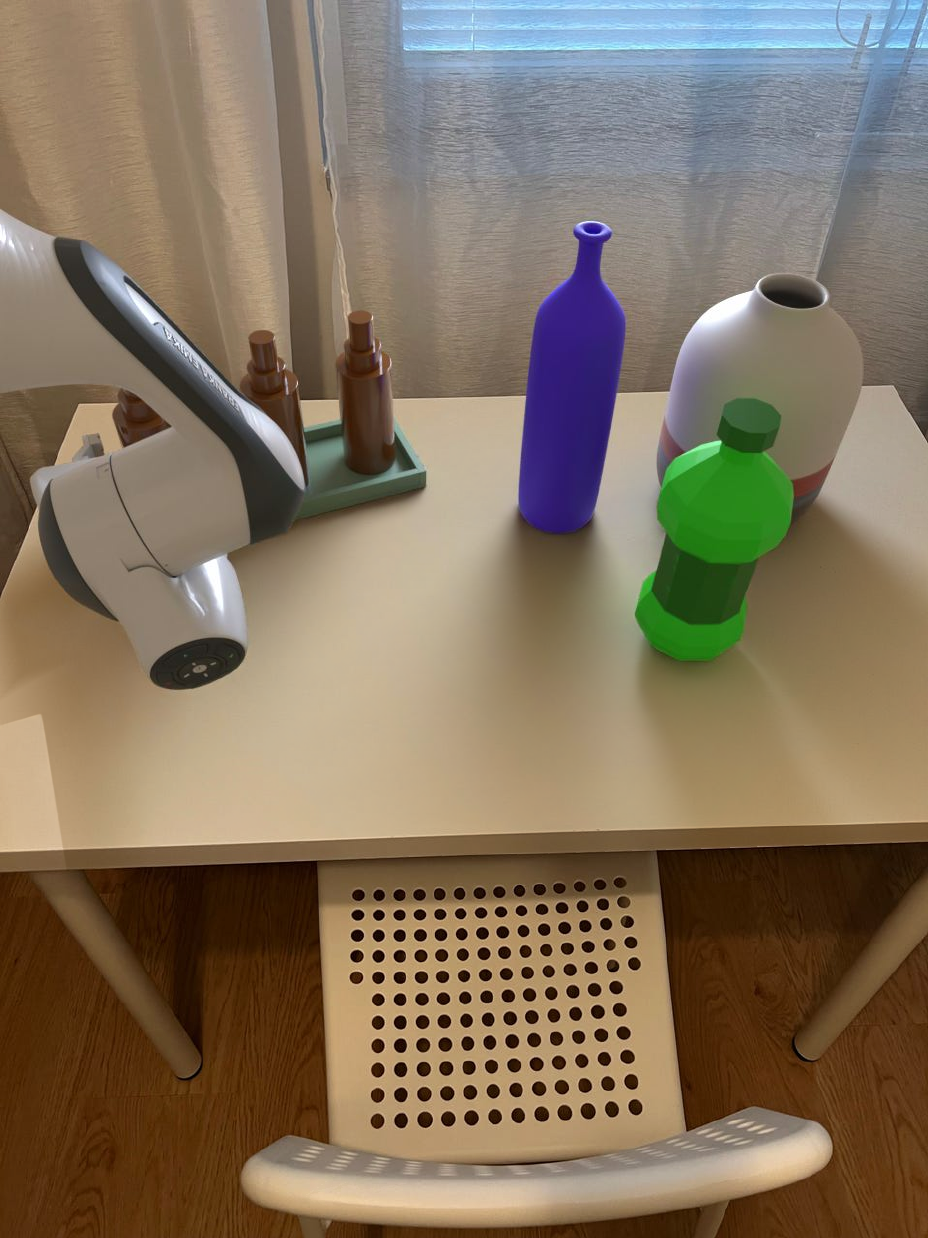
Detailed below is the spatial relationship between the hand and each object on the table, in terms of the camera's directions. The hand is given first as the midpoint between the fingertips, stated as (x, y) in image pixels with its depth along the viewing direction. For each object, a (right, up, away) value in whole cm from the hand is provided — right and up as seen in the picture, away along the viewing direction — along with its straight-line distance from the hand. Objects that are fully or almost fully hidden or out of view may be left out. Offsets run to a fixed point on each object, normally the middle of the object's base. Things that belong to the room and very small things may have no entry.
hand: (145, 430), depth 87 cm
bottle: (+39, -6, +11) cm, 41 cm away
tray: (+9, -4, +11) cm, 15 cm away
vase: (+58, -5, +13) cm, 59 cm away
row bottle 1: (+11, -3, +12) cm, 16 cm away
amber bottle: (0, -6, +8) cm, 10 cm away
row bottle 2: (+19, 0, +14) cm, 24 cm away
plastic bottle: (+50, -19, -1) cm, 53 cm away
